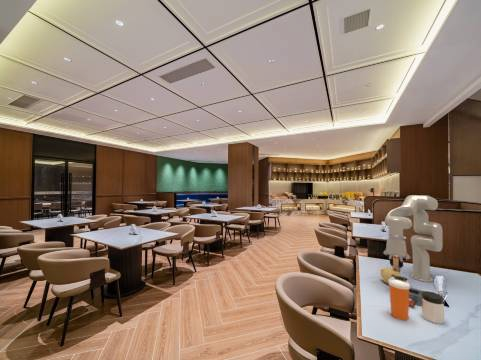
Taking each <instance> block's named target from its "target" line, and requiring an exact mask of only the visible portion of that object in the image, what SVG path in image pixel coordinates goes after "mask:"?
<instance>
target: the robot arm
mask: <svg viewBox="0 0 481 360" xmlns="http://www.w3.org/2000/svg"><path fill="white" fill-rule="evenodd" d="M438 206H439V202H438V200H437V199H436V198H434V197H432V196H430V195H422V194H420V195H418V194H415V195H414V194H412V195H407V196H406V197H405V199H404V201H403V203H402V204H401V206H399V207H395V208H393V209H392V210H390V211H389V212H388V213H387V214H386V216H385V219H384V224H385V225H386V226H387V227H388V237H387V239H386V246H385V247H386V248H385V249H384V251H383V254H384V255H385V256H386V257H387V258H388V259H389V264H390V266H391V267H393V264H392V255H396V256H400V269H402V268H403V267H404V261H407V260H409V259H411V256H410V255H409V254H408V252H407V242H406V240H407V236H404V230H409V229H411V227H413V231H414V232H415V233H417V234H415V235H412V236H411V238H410V244H411V249H412V273H410V277H411V278H412V279H414V280H417V281H420V282H425V283H432V282H433V281H434V279H433V278H432V277H431V269H430V267H431V264H430V263H431V262H430V254H429V252H428V251H431V252H441V251H442V250H443V244H444V243H443V227H442V224H440V223H438V222H433V221H429V214H428V212H427V211H436V210H437V208H438ZM410 216H413V222H412V220H411V219H410V218H409V217H410ZM420 234H421V235H420ZM427 235H428V236H427ZM431 236H432V237H431Z"/></svg>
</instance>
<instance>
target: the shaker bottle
mask: <svg viewBox="0 0 481 360" xmlns="http://www.w3.org/2000/svg"><path fill="white" fill-rule="evenodd" d="M408 280H409V279H408V278H407V277H406V276H405V277H404V276H402V277H400V276H395V275H393V274H392V275H391V277H390V279H389V283H387V284H388V288H389V300H390V301H389V302H390V313H391V316H392V317H394V318H396V319H398V320H400V321H401V320H402V321H408V319H409V308H410V307H409V289H410V287H411V285H410V283H409V281H408Z"/></svg>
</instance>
